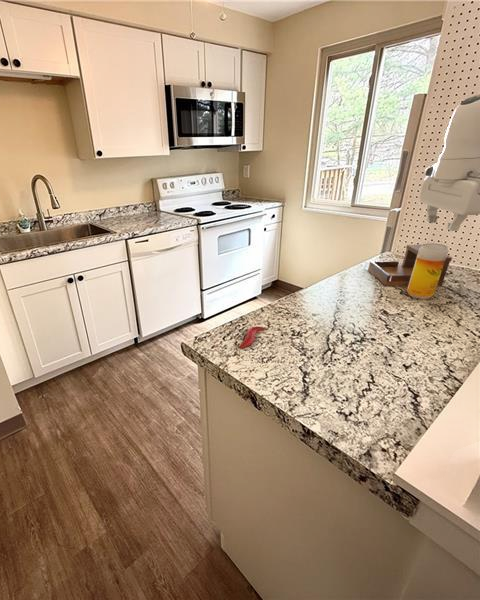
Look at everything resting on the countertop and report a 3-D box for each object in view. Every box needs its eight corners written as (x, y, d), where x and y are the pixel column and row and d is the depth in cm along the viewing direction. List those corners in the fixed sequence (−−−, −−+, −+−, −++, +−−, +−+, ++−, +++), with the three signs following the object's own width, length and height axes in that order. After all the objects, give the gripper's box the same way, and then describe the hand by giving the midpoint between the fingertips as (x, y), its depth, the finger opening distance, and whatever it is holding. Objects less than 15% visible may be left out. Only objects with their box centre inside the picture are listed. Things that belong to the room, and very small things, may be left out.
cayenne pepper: (257, 325, 84) (257, 319, 84) (272, 332, 81) (273, 325, 80) (227, 342, 79) (227, 336, 78) (242, 350, 75) (242, 343, 74)
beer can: (432, 301, 88) (449, 250, 81) (404, 296, 91) (419, 247, 85) (433, 293, 92) (450, 244, 85) (407, 289, 95) (421, 242, 89)
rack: (418, 270, 107) (425, 244, 104) (442, 286, 95) (452, 257, 91) (367, 270, 111) (373, 245, 107) (385, 285, 99) (392, 258, 95)
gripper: (507, 172, 67) (483, 235, 73) (448, 166, 85) (433, 217, 91) (472, 174, 68) (451, 236, 74) (421, 168, 86) (408, 218, 92)
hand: (441, 226), depth 83 cm, fingers open, 8 cm apart
